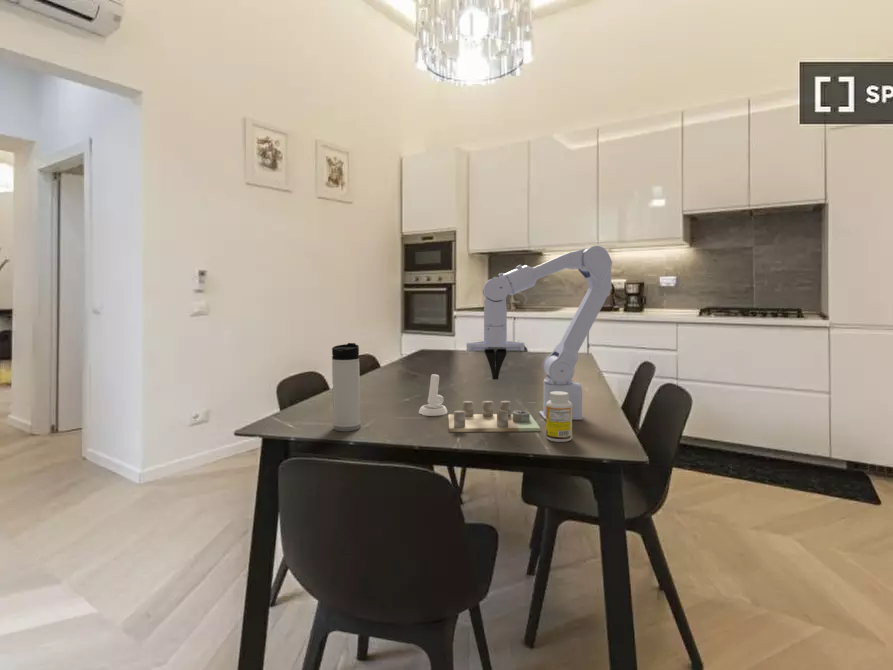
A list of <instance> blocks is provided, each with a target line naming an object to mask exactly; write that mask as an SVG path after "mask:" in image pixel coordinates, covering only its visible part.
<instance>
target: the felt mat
mask: <svg viewBox="0 0 893 670" xmlns="http://www.w3.org/2000/svg"><path fill="white" fill-rule="evenodd" d="M511 415H512V417H513V413H511ZM516 424H517V426H518V428H519V431H518V432H541V427H540V426H539V424H538V423H537V421H536V420H535V419H534V417H533V415H531V413H530V422H525V423H519V422H516Z"/></svg>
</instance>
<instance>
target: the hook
mask: <svg viewBox="0 0 893 670" xmlns="http://www.w3.org/2000/svg"><path fill="white" fill-rule="evenodd" d="M439 382H440V375H439V374H436V373H434V374H433V373H432V374H431V375H430V383H429V392H428V397H427V403H428V404H424V405H421V407H420V408H419V411H418V414H420V415H421V414H422V415H421V416H426V417H427V416H431V417H434V416H435V417H437V416H445V415H446V414H447V413H448V409H447V407H446V406H445V405H443V403H444V397H443V396H442V395H440V394H438V392H439Z"/></svg>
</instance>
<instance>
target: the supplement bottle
mask: <svg viewBox="0 0 893 670" xmlns="http://www.w3.org/2000/svg"><path fill="white" fill-rule="evenodd" d="M568 400H569V394H568V393H567V392H562V391H554V392H550V400H549V401H548V402H547V403H546V420H545V436H546V439H547V440H548V441H551V442H555V443H556V442H557V443H566V442H569V441H571V440H572V438H573V420H572V403H571V402H570V401H568Z"/></svg>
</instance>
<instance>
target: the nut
mask: <svg viewBox="0 0 893 670" xmlns="http://www.w3.org/2000/svg"><path fill="white" fill-rule="evenodd" d="M512 414H513V421H514V422H519V423H525V422H530V414H531V413H530V411H527V410H513V411H512Z"/></svg>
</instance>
